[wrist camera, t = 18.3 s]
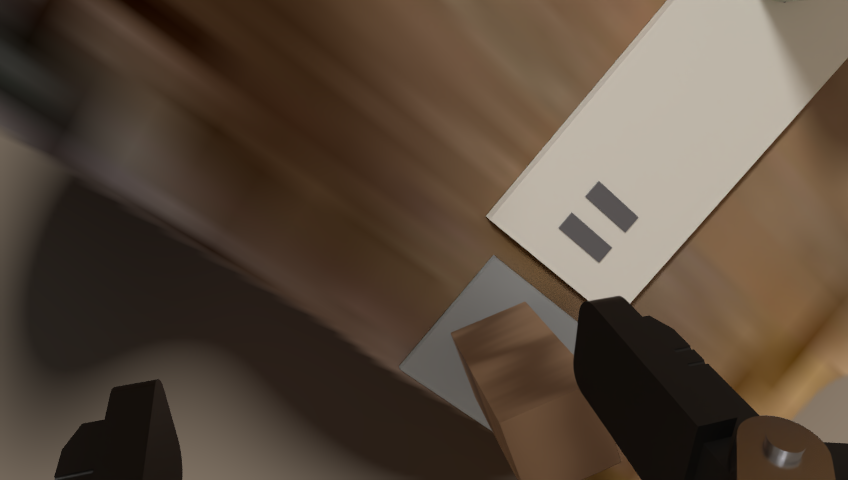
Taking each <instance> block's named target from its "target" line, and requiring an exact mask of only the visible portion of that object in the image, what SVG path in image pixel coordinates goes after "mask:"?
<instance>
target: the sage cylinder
mask: <svg viewBox="0 0 848 480" xmlns="http://www.w3.org/2000/svg"><path fill="white" fill-rule="evenodd" d="M773 1H778V2H790V1H802V0H773Z"/></svg>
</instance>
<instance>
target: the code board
mask: <svg viewBox="0 0 848 480" xmlns="http://www.w3.org/2000/svg"><path fill="white" fill-rule="evenodd" d="M847 58H848V0H802V1H790V2H778V1H773V0H667V1H666V2H665V3H664V5H663V6H662V7H661V8H660V9H659V10H658V12H657V13H656V14H655V15H654V16H653V18H652V19H651V20H650V21H649V22H648V24H647V25H646V26H645V27H644V28H643V30H642V31H641V32H640V33H639V34H638V35H637V37H636V38H635V39H634V40H633V41H632V43H631V44H630V45H629V46H628V47H627V49H626V50H625V51H624V52H623V53H622V55H621V56H620V57H619V58H618V59H617V60H616V62H615V63H614V64H613V65H612V66H611V68H610V69H609V70H608V71H607V72H606V74H605V75H604V76H603V77H602V78H601V80H600V81H599V82H598V83H597V84H596V86H595V87H594V88H593V89H592V90H591V91H590V93H589V94H588V95H587V96H586V97H585V99H584V100H583V101H582V102H581V103H580V105H579V106H578V107H577V108H576V109H575V111H574V112H573V113H572V114H571V115H570V116H569V118H568V119H567V120H566V121H565V122H564V124H563V125H562V126H561V127H560V128H559V130H558V131H557V132H556V133H555V134H554V136H553V137H552V138H551V139H550V140H549V141H548V143H547V144H546V145H545V146H544V147H543V149H542V150H541V151H540V152H539V153H538V155H537V156H536V157H535V158H534V159H533V161H532V162H531V163H530V164H529V165H528V166H527V168H526V169H525V170H524V171H523V172H522V174H521V175H520V176H519V177H518V178H517V180H516V181H515V182H514V183H513V184H512V186H511V187H510V188H509V189H508V190H507V192H506V193H505V194H504V195H503V196H502V197H501V199H500V200H499V201H498V202H497V203H496V205H495V206H494V207H493V208H492V209H491V211H490V212H489V213H488V214H487V215H486V217H487V218H488V219H489V220H491V221H492V222H493V223H494V224H495V225H497V226H498V227H499V228H500V229H502V230H503V231H504V232H505V233H506V234H508V235H509V236H510V237H511V238H513V239H514V240H515V241H516V242H517V243H519V244H520V245H521V246H522V247H523V248H525V249H526V250H527V251H528V252H530V253H531V254H532V255H533V256H534V257H536V258H537V259H538V260H539V261H541V262H542V263H543V264H544V265H545V266H547V267H548V268H549V269H550V270H552V271H553V272H554V273H555V274H556V275H558V276H559V277H560V278H561V279H562V280H564V281H565V282H566V283H567V284H569V285H570V286H571V287H572V288H573V289H575V290H576V291H577V292H578V293H580V294H581V295H582V296H583V297H584V298H586V299H587V300H588V301H591V300H597V299H603V298H608V297H614V296H622V297H623V298H625V299H626V300H627V301H628V302H629V303H631V302H632V301H633V300H634V298H635V297H636V296H637V295H638V294H639V293H640V292H641V291H642V289H643V288H644V287H645V286H646V285H647V284H648V283H649V282H650V280H651V279H652V278H653V277H654V276H655V275H656V274H657V272H658V271H659V270H660V269H661V268H662V267H663V266H664V265H665V263H666V262H667V261H668V260H669V259H670V258H671V257H672V256H673V254H674V253H675V252H676V251H677V250H678V249H679V248H680V247H681V245H682V244H683V243H684V242H685V241H686V240H687V239H688V237H689V236H690V235H691V234H692V233H693V232H694V231H695V230H696V228H697V227H698V226H699V225H700V224H701V223H702V222H703V221H704V219H705V218H706V217H707V216H708V215H709V214H710V213H711V212H712V210H713V209H714V208H715V207H716V206H717V205H718V204H719V203H720V201H721V200H722V199H723V198H724V197H725V196H726V195H727V193H728V192H729V191H730V190H731V189H732V188H733V187H734V186H735V184H736V183H737V182H738V181H739V180H740V179H741V178H742V177H743V175H744V174H745V173H746V172H747V171H748V170H749V169H750V168H751V166H752V165H753V164H754V163H755V162H756V161H757V160H758V158H759V157H760V156H761V155H762V154H763V153H764V152H765V151H766V149H767V148H768V147H769V146H770V145H771V144H772V143H773V142H774V140H775V139H776V138H777V137H778V136H779V135H780V134H781V133H782V131H783V130H784V129H785V128H786V127H787V126H788V125H789V123H790V122H791V121H792V120H793V119H794V118H795V117H796V116H797V114H798V113H799V112H800V111H801V110H802V109H803V108H804V107H805V105H806V104H807V103H808V102H809V101H810V100H811V99H812V98H813V96H814V95H815V94H816V93H817V92H818V91H819V90H820V88H821V87H822V86H823V85H824V84H825V83H826V82H827V81H828V79H829V78H830V77H831V76H832V75H833V74H834V73H835V72H836V70H837V69H838V68H839V67H840V66H841V65H842V64H843V63H844V61H845V60H846V59H847Z"/></svg>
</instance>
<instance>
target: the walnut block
mask: <svg viewBox="0 0 848 480" xmlns="http://www.w3.org/2000/svg"><path fill="white" fill-rule="evenodd" d="M451 336H452V338H453V341H454V344H455V346H456V349H457V351H458V354H459V357H460V359H461V362H462V364H463V367H464V370H465V372H466V375H467V377H468V380H469V383H470V385H471V388H472V391H473V393H474V396H475V398H476V400H477V402H478V404H479V406H480V408H481V410H482V412H483V414H484V416H485V418H486V420H487V422H488V424H489V426H490V428H491V429H492V431H493V433H494V435H495V437H496V439H497V441H498V443H499V445H500V447H501V449H502V450H503V453H504V455H505V457H506V459H507V461H508V463H509V464H510V466H511V468H512V470H513V472H514V474H515V476H516V478H517V480H583V479H585V478H587V477H589V476H592V475H594V474H596V473H598V472H601V471H603V470H605V469H607V468H610V467H612V466H614V465H616V464H619V463H621V460H620V457H619V453H618V450H617V447H616V443H615V441H614V439H613V438H612V436H611V435H610V433H609V432H608V431H607V429H606V428H605V426H604V425H603V423H602V422H601V420H600V419H599V418H598V416H597V415H596V413H595V412H594V410H593V409H592V407H591V406H590V405H589V403H588V402H587V400H586V399H585V397H584V396H583V394H582V393H581V391H580V389H579V387H578V385H577V382H576V379H575V375H574V369H573V358H574V355H573V354H572V353H571V352H570V351H569V350H568V348H567V347H566V346H565V345H564V344H563V343H562V342H561V341H560V340H559V338H558V337H557V336H556V335H555V334H554V333H553V332H552V331H551V330H550V328H549V327H548V326H547V325H546V324H545V323H544V322H543V321H542V319H541V318H540V317H539V316H538V315H537V314H536V313H535V312H534V311H533V309H532V308H531V307H530V306H529V305H528V304H527V303H526V302H522V303H520V304H518V305H515V306H513V307H511V308H508V309H506V310H503V311H501V312H499V313H496V314H494V315H492V316H489V317H487V318H484V319H482V320H480V321H477V322H475V323H473V324H470V325H468V326H465V327H463V328H461V329H458V330H456V331H453V332H451Z"/></svg>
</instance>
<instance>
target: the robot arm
mask: <svg viewBox="0 0 848 480" xmlns="http://www.w3.org/2000/svg"><path fill="white" fill-rule="evenodd" d="M573 369H574V375H575V379H576V382H577V385H578V387H579V389H580V391H581V393H582V394H583V396H584V397H585V399H586V400H587V402H588V403H589V405H590V406H591V407H592V409H593V410H594V412H595V413H596V415H597V416H598V418H599V419H600V420H601V422H602V423H603V425H604V426H605V428H606V429H607V431H608V432H609V433H610V435H611V436H612V438H613V439H614V441H615V442H616V444H617V445H618V446H619V448H620V449H621V451H622V452H623V454H624V455H625V456H626V458H627V459H628V461H629V462H630V464H631V465H632V467H633V468H634V469H635V471H636V472H637V474H638V475H639V477H640V478H641V480H848V444H845V443H826V442H823V441H822V440H821V439H820V438H819V437H818V436H816V435H815V434H814V433H813V432H811V431H810V430H808V429H806V428H805V427H804V426H801V425H800V424H798V423H795V422H793V421H790V420H788V419H784V418H781V417H775V416H759V415H758V414H757V413H756V412H755V411H754V410H753V409H752V408H751V407H750V406H749V405H748V404H747V403H746V402H745V401H744V400H743V399H742V398H741V397H740V396H739V395H738V394H737V393H736V392H735V391H734V390H733V389H732V388H731V387H730V386H729V384H728V383H727V382H726V381H725V380H724V379H723V378H722V377H721V376H720V375H719V374H718V373H717V372H716V371H715V370H714V369H713V368H712V367H711V366H710V365H709V364H705V363H704V359H703V358H702V357H701V356H700V355H699V354H698V353H697V352H696V351H695V350H694V349H693V350H691V348H690V345H689V344H688V343H687V342H686V341H685V340H684V339H683V338H682V337H681V336H680V335H679V334H678V333H677V332H676V331H675V330H674V329H673V328H671V327H669V326H667V325H665V324H663V323H662V322H660V321H658V320H656V319H654V318H653V317H651V316H645V317H642V316H641V315H640V314H639V313H638V312H637V311H636V310H635V309H634V308H633V307H632V306H631V305H630V303H629V302H628V301H627V300H626V299H625V298H623V297H622V296H614V297H608V298H603V299H597V300H591V301H586V302H583V303H582V305H581V307H580V310H579V317H578V326H577V334H576V342H575V350H574V358H573ZM54 477H55V480H182V458H181V451H180V445H179V441H178V437H177V434H176V430H175V427H174V423H173V420H172V416H171V413H170V409H169V405H168V402H167V399H166V395H165V391H164V388H163V385H162V383H161V381H160V380H159V379H157V380H151V381H146V382H140V383H134V384H129V385H123V386H118V387H114V388H113V389H112V391H111V393H110V398H109V402H108V407H107V412H106V416H105V420H100V421H95V422H89V423H84V424H82V425H81V426H80V427H79V429H78V430H77V431H76V432H75V434H74V435H73V436H72V437H71V439H70V440H69V441H68V443H67V444H66V445H65V446H64V448H63V449H62V451H61V455H60V459H59V462H58V466H57V469H56V473H55V476H54Z"/></svg>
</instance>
